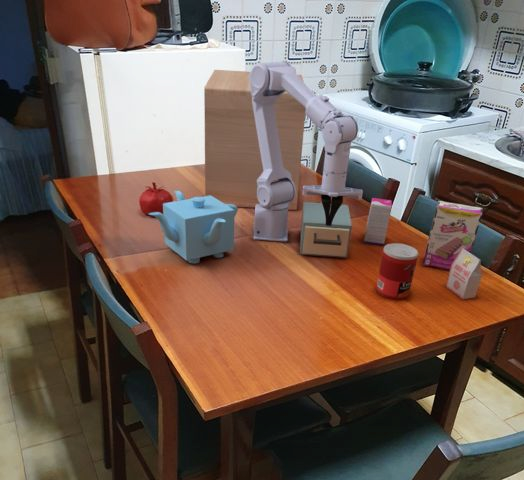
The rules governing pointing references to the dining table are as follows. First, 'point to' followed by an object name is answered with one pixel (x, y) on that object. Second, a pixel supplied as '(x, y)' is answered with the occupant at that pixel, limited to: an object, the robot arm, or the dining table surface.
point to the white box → (465, 275)
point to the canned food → (396, 270)
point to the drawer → (325, 240)
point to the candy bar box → (451, 233)
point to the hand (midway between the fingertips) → (328, 224)
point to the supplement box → (378, 221)
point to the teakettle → (197, 226)
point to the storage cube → (245, 139)
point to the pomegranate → (154, 199)
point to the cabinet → (323, 221)
